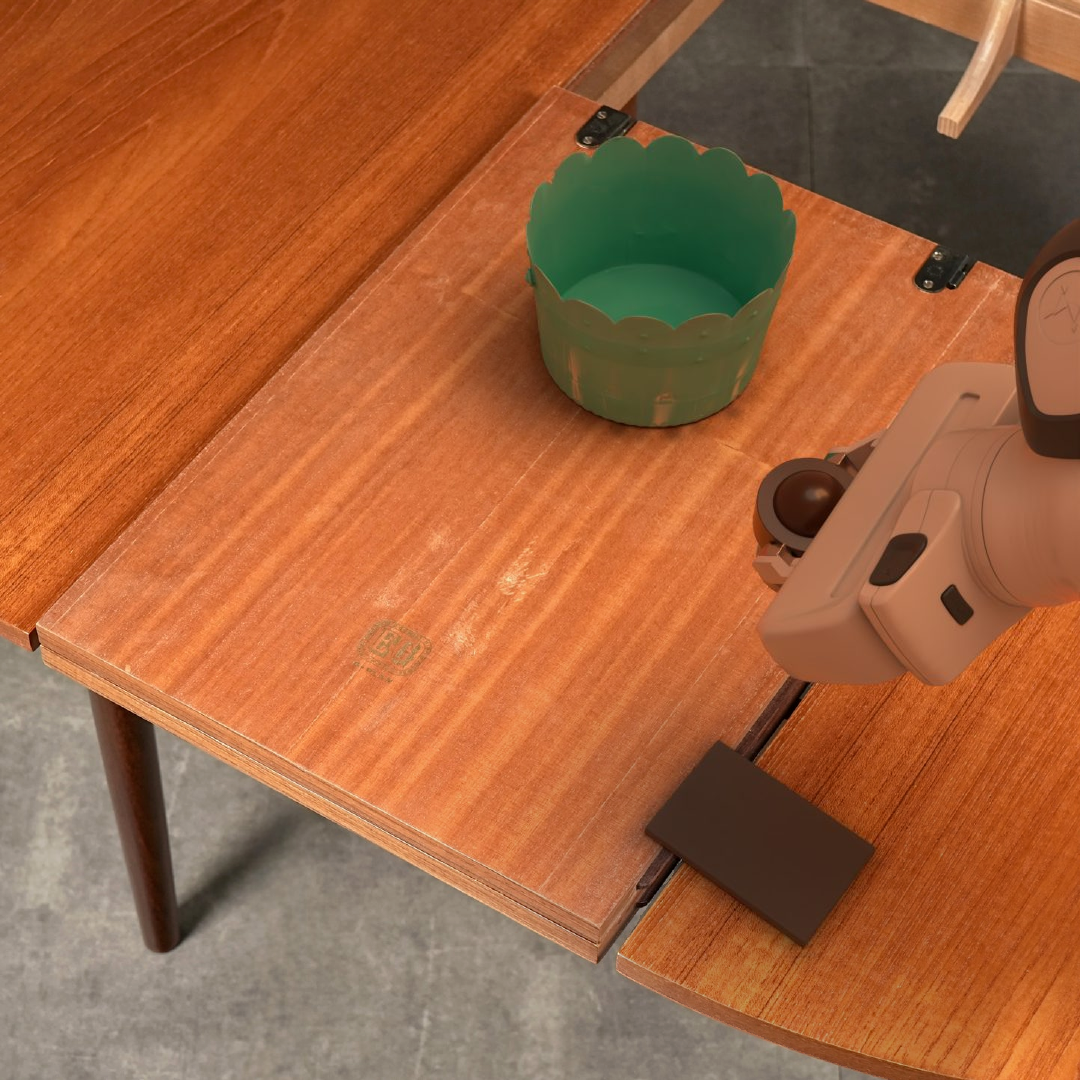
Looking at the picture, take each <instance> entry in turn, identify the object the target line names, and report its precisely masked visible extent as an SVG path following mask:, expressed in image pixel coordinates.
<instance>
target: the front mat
mask: <svg viewBox="0 0 1080 1080" xmlns="http://www.w3.org/2000/svg"><path fill="white" fill-rule="evenodd" d="M644 834H645V835H646V836H648V837H650V838H651V839H653V840H654V841H655V842H656V843H658V844H659V845H661V846H662V847H663V848H665V849H666V850H668V851H669V852H670V853H671V854H672V855H673V854H674V855H675V856H676V857H677V858H679V859H680V860H681V861H683V862H685V864H687V865H689V866H690V867H692V868H693V869H694V870H695V871H697V872H698V873H700V874H701V875H702V876H703V877H705V878H707V880H709V881H711V882H712V883H714V884H715V885H716V886H717V887H719V888H720V889H722V890H723V891H724V892H726V893H727V894H729V895H730V896H731V897H733V898H734V899H736V900H737V901H739V902H740V903H741V904H742V905H744V906H745V907H746V908H748V909H749V910H751V911H752V912H754V913H755V914H756V915H758V916H759V917H761V918H762V919H763V920H765V921H766V922H768V923H769V924H770V925H772V926H773V927H774V928H776V929H777V930H779V931H780V932H782V933H783V934H784V935H785V936H786V937H788V938H789V939H791V940H792V941H794V942H795V943H797V944H798V945H799V946H801V947H802V948H805V947H806V946H807V944H808V943H809V942H810V941H811V939H812V938H813V936H814V935H815V934H816V932H817V931H818V929H819V928H820V927H821V926H822V924H823V923H824V921H825V920H826V919H827V917H828V916H829V915H830V913H831V912H832V910H833V909H834V908H835V907H836V905H837V904H838V902H840V900H841V899H842V897H843V896H844V895H845V893H846V891H847V890H848V889H849V888H850V886H851V885H852V884H853V883H854V881H855V880H856V878H857V877H858V875H859V874H860V873H861V872H862V870H863V869H864V867H865V866H866V864H868V862H869V861H870V859H871V858H872V857H873V856H874V854H875V852H876V850H877V848H876V846H875V845H873V844H872V843H871V842H869V841H868V840H866V839H865V838H862V837H861V836H860V835H859V834H857V833H856V832H854V831H852V829H849V827H847V826H845V825H844V824H843V823H842V822H840V821H838V820H836V819H835V818H834V817H832V816H831V815H829V814H828V813H826V812H825V811H823V810H822V809H820V808H819V807H817V806H816V805H815V804H813V803H812V802H810V801H808V800H807V799H806V798H804V797H803V796H801V795H800V794H799V793H797V792H795V791H794V790H793V789H791V788H790V787H789V786H787V785H785V784H784V783H783V782H781V781H780V780H778V779H777V778H775V777H774V776H772V775H771V774H769V773H768V772H766V771H765V770H763V768H761V767H759V766H758V765H756V764H755V763H753V762H752V761H750V760H749V759H748V758H746V757H745V756H743V755H742V754H740V753H739V752H737V751H736V750H734V749H733V748H732V747H730V746H729V745H727V744H726V743H724V742H723V741H721V740H720V739H717V740H716V742H715V743H714V744H713V745H712V747H710V749H709V750H708V751H707V752H706V753H705V754H704V756H703V757H702V759H701V760H700V761H699V762H698V763H697V764H696V766H695V767H694V768H693V769H692V770H691V772H690V773H689V774H688V775H687V777H685V778H684V780H683V781H682V782H681V783H680V784H679V786H678V787H677V789H675V791H674V792H673V793H672V795H670V797H669V798H668V799H667V800H666V802H664V804H663V805H662V807H661V808H660V809H659V810H658V811H657V812H656V814H655V815H654V816H653V817H652V818H651V820H649V822H648V823H647V824H646V825H645V827H644Z"/></svg>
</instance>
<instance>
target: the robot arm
mask: <svg viewBox="0 0 1080 1080" xmlns="http://www.w3.org/2000/svg"><path fill="white" fill-rule="evenodd" d="M1013 313H1014V314H1013V353H1014V354H1013V357H1014V364H1009V363H1003V362H991V361H947V362H943V363H941V364H940V365H938V366H936V367H934V368H932V369H930V370H928V371H927V372H925V373H924V374H923V376H922V377H921V378H920V379H919V381H918V382H917V384H916V385H915V387H914V389H913V390H912V392H911V393H910V395H909V396H908V397H907V399H906V400H905V402H904V403H903V405H902V406H901V408H900V409H899V411H898V412H897V414H896V415H895V417H894V418H893V420H892V421H891V423H890V424H889V426H888V427H887V428H881V429H879V430H876V431H875V432H873V433H871V434H869V435H867V436H865V437H864V438H862V439H859V440H857V441H855V442H854V443H852V444H851V445H850V446H849V445H846V446H831V447H830V449H829V450H828V452H827V454H826V455H825V456H824V458H823V460H827V461H830V462H832V463H834V464H836V465H837V466H839V467H842V468H843V469H845V470H846V471H847V472H849V473H850V474H851V475H852V476H853V477H854V480H853V481H852V483H851V484H850V486H849V487H848V488H847V490H846V491H845V493H844V494H843V496H842V497H841V499H840V500H839V502H838V503H837V505H836V506H835V508H834V509H833V511H832V512H831V514H830V515H829V517H828V518H827V520H826V521H825V523H824V524H823V526H822V527H821V529H820V530H819V532H818V533H817V535H816V536H815V538H814V539H813V541H812V542H811V544H810V545H809V547H808V548H807V550H806V551H805V553H804V554H803V556H802V557H801V558H796V557H793V556H792V554H791V551H790V550H789V548H788V547H787V546H786V544H785V543H782V544H780V543H776V544H773V545H772V544H771V543H767V544H765V546H764V547H763V549H762V550H761V551H760V553H759V554H758V556H757V557H756V556H755V558H754V560H753V561H752V563H751V565H752V568H753V569H754V570H755V571H756V572H757V574H758V576H759V577H760V576H761V577H762V579H764V580H765V581H766V582H768V583H770V584H783V585H782V587H781V588H780V590H779V591H778V593H776V594H775V596H774V597H773V599H772V600H771V602H770V603H769V605H768V606H767V608H766V609H765V610H764V612H763V613H762V615H761V616H760V617H759V619H758V621H757V622H756V627H755V628H756V629H755V630H756V633H757V636H758V638H759V641H760V642H761V644H762V646H763V648H764V649H765V651H766V652H767V653H768V655H769V656H770V657H771V658H772V660H773V661H774V662H775V663H776V664H777V665H778V667H780V669H782V670H783V671H784V673H786V674H787V675H789V677H791V678H792V679H795V680H798V681H802V682H807V683H814V684H823V685H837V686H838V685H841V686H871V685H873V686H874V685H879V684H880V685H881V684H884V683H888V682H892V681H894V680H896V679H898V678H900V677H902V676H904V675H905V674H906V673H908V672H909V673H911V674H912V675H913V676H914V677H915V678H916V679H917V680H918V681H919V682H920V683H921V684H923V685H926V686H930V687H943V686H947V685H950V684H951V683H952V682H954V681H955V680H956V679H957V678H958V677H959V676H961V674H963V673H964V671H965V670H967V668H968V667H969V666H970V665H971V664H972V663H974V661H975V660H976V659H977V658H979V656H980V655H981V654H982V653H983V652H984V651H985V650H987V648H989V646H990V645H992V644H993V642H995V641H996V640H998V639H999V638H1000V637H1001V636H1002V635H1003V634H1005V632H1007V631H1008V630H1009V629H1011V628H1012V627H1013V626H1014V625H1016V624H1017V623H1019V622H1021V621H1022V620H1024V618H1026V617H1027V616H1028V615H1029V614H1031V612H1032V611H1034V609H1035V608H1055V607H1056V608H1057V607H1060V606H1064V605H1068V604H1071V603H1075V602H1080V216H1079V217H1077V218H1076V219H1074V220H1071V222H1069V223H1068V224H1067V225H1065V226H1064V227H1062V228H1060V230H1059V231H1057V232H1056V233H1055V234H1054V235H1053V236H1052V237H1051V238H1049V240H1048V241H1047V242H1046V243H1045V244H1044V246H1042V248H1041V249H1040V251H1038V253H1037V255H1036V256H1035V257H1034V259H1033V261H1031V263H1030V265H1029V267H1028V269H1026V273H1025V274H1024V276H1023V279H1022V281H1021V284H1020V287H1019V290H1018V293H1017V297H1016V301H1015V305H1014V312H1013ZM761 577H760V578H761ZM762 579H761V580H762Z"/></svg>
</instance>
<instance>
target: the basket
mask: <svg viewBox="0 0 1080 1080" xmlns="http://www.w3.org/2000/svg"><path fill="white" fill-rule="evenodd" d="M553 171H554V174H553V178H552V179H551V182H550V181H548V180H545V181H542V182H541V183H539V184H538V185H537V186H536V188H535V190H534V192H533V195H532V197H531V198H530V202H529V210H528V211H529V212H528V216H529V219H527V220H526V222H525V243H526V247H527V248H526V254H527V256H528V259H529V268H527V269H526V270H525V273H526V274H524V281H525V282H527V283H528V285H529V287H531V288H532V287H533V289H532V290H533V294H534V300H535V308H536V315H537V326H538V333H539V341H540V350H541V356H542V359H543V362H544V366H545V368H546V369H547V372H548V374H549V376H550V377H551V378H552V380H553V382H554V383H555V384H556V385H557V386H558V388H559V389H560V390H561V392H563V393H565V395H566V397H568V398H569V399H571V400H572V401H573V402H574V403H575V404H577V405H578V406H581V407H582V408H583V409H584V410H586V411H588V412H591V413H592V414H593V415H596V416H601V417H602V418H603V419H605V420H612V421H613V422H615V423H619V424H620V423H622V424H625V425H629V426H633V425H634V426H637V427H648V428H656V427H660V428H665V427H669V426H673V427H676V426H680V425H687V424H689V423H696V422H699V421H701V420H703V419H705V418H707V417H710V416H712V415H714V414H717V413H718V412H720V411H721V410H722V409H724V408H726V407H727V406H729V404H731V403H732V402H734V401H735V400H736V399H737V398H738V397H739V396H740V395H741V394H742V393H743V391H744V390H745V389H746V388H747V387H748V385H749V384H750V381H751V380H752V378H753V376H754V373H755V372H756V369H757V367H758V362H759V359H760V356H761V352H762V350H763V347H764V343H765V340H766V337H767V333H768V332H769V328H770V325H771V323H772V319H773V316H774V313H775V309H776V308H777V305H778V302H779V299H780V297H781V296H782V290H783V287H784V284H785V282H786V280H787V273H788V271H789V268H790V265H791V263H792V260H793V257H794V255H795V252H796V251H795V250H794V247H795V243H796V239H797V238H796V237H797V232H798V231H797V229H798V218H797V215H796V214H795V211H794V210H793V209H791V208H787V209H785V210H784V204H785V203H784V195H783V193H782V188H781V187H780V185H779V184H778V182H777V180H776V179H775V178H774V177H773V176H771V175H769V173H766V172H756V173H753V174H752V175H749V174H748V169H747V168H746V165H745V164H744V162H743V160H742V159H741V158H740V156H739V155H737V153H735V152H734V151H732V150H730V149H728V148H726V147H722V146H721V147H711V148H709V149H706V150H704V151H703V152H702V153H701V154H700V153H699V151H698V150H697V148H696V147H695V145H694V144H693V143H692V142H691V141H690V140H689V139H687V138H685V137H683V136H679V135H675V134H666V135H661V136H658V137H656V138H654V139H652V141H650V142H649V143H648V145H646V146H645V147H644V146H643V144H642V143H641V142H640V141H638V139H635V138H633V137H631V136H627V135H618V136H614V137H612V138H609V139H607V140H606V141H604V142H603V143H602V144H600V146H599V147H598V148H595V150H594V151H593V154H592V156H591V155H589V154H588V153H586V152H584V151H577V152H572V153H570V154H569V155H567V156H566V157H564V158H563V159H562V161H561V162H560V163H559V165H557V166H556V168H555V169H554V170H553Z"/></svg>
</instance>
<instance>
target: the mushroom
mask: <svg viewBox="0 0 1080 1080" xmlns="http://www.w3.org/2000/svg"><path fill="white" fill-rule="evenodd" d="M853 480H854V477H853V476H852V475H851V474H850V473H849V472H847V471H846V470H845V469H843V468H842V467H839V466H837V465H836V464H834V463H832V462H830V461H827V460H824V458H818V457H797V458H793V459H790V460H786V461H784V462H782V463H780V464H778V465H776V466H775V467H774V468H773V469H771V470H770V471H769V472H768V473H767V474H766V475H765V477H763V479H762V481H761V483H760V485H759V487H758V490H757V494H756V499H755V503H754V508H753V514H752V530H753V534H754V538H755V540H756V542H757V546H756V550H755V551H756V552H755V558H756V557H757V556H758V554H759V553H760V551H761V550H762V549H763V547H764V546H765V544H767V543H771V544H772V545H773V544H776V543H780V544H782V543H785V544H786V546H787V547H788V548H789V550H790V551H791V554H792V556H793V557H796V558H801V557H802V556H803V554H804V553H805V551H806V550H807V548H808V547H809V545H810V544H811V542H812V541H813V539H814V538H815V536H816V535H817V533H818V532H819V530H820V529H821V527H822V526H823V524H824V523H825V521H826V520H827V518H828V517H829V515H830V514H831V512H832V511H833V509H834V508H835V506H836V505H837V503H838V502H839V500H840V499H841V497H842V496H843V494H844V493H845V491H846V490H847V488H848V487H849V486H850V484H851V483H852V481H853ZM759 577H760V579H761V580H762V582H763V584H765V585H766V586H767V587H768V588H769V589H770V590H772V591H773V592H775V593H776V594H777V593H778V591H779V590H780V588H781V587H782V585H783V584H770V583H768V582H766V581H765V580H764V579H762V577H761V576H760V575H759Z"/></svg>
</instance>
